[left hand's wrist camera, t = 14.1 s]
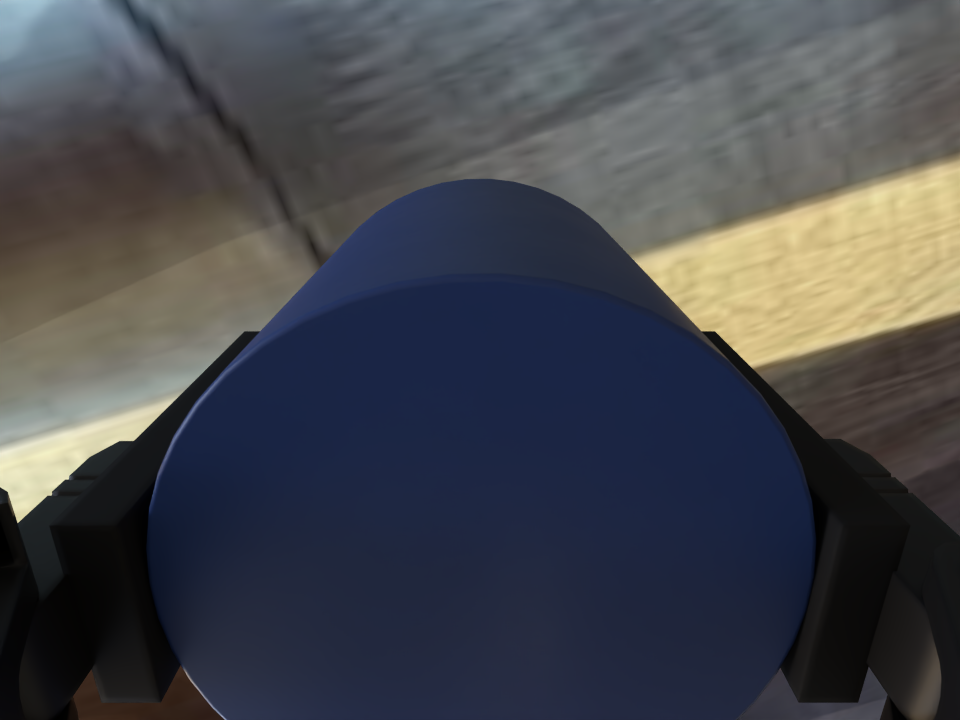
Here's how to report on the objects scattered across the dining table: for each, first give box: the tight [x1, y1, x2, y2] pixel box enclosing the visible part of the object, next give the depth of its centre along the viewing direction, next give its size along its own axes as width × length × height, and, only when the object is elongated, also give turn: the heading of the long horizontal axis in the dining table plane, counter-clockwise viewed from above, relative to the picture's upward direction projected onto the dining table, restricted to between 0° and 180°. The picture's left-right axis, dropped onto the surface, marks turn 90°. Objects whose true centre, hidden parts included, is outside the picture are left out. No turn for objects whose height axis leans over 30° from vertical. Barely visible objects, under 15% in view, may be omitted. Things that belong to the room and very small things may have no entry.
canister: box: [146, 179, 816, 720], centre depth 12 cm, size 8×8×8 cm
